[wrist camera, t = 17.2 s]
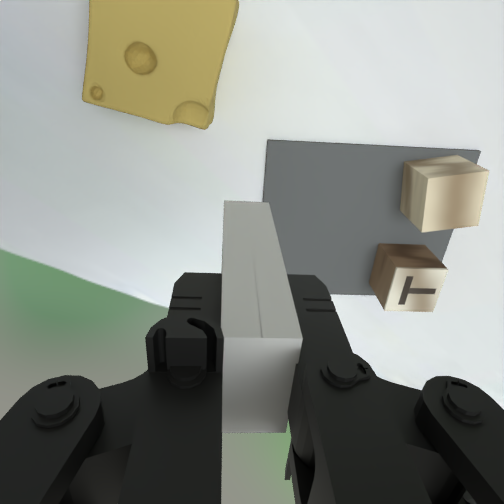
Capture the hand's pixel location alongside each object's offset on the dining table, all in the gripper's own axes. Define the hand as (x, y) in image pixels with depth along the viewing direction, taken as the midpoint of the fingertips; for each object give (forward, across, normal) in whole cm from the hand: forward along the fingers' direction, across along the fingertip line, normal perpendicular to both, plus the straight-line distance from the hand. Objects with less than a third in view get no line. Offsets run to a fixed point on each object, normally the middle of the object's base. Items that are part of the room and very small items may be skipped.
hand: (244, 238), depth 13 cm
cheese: (+30, -6, +5) cm, 31 cm away
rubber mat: (+30, +16, -13) cm, 36 cm away
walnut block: (+23, +22, -18) cm, 37 cm away
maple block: (+29, +23, -7) cm, 38 cm away
